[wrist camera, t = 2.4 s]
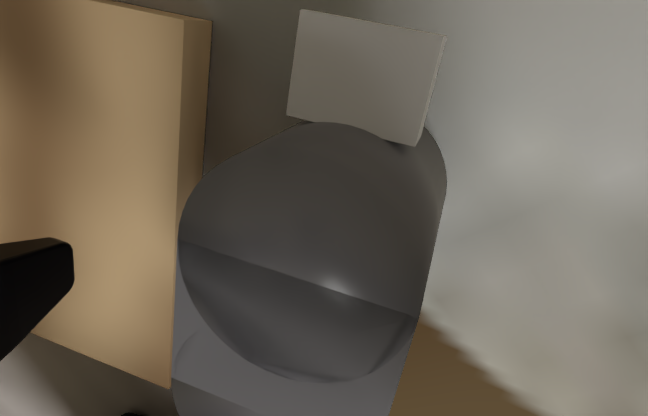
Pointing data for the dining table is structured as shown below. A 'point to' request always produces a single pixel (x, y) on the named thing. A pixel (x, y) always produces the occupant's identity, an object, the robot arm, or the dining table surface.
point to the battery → (129, 414)
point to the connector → (315, 236)
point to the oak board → (104, 163)
